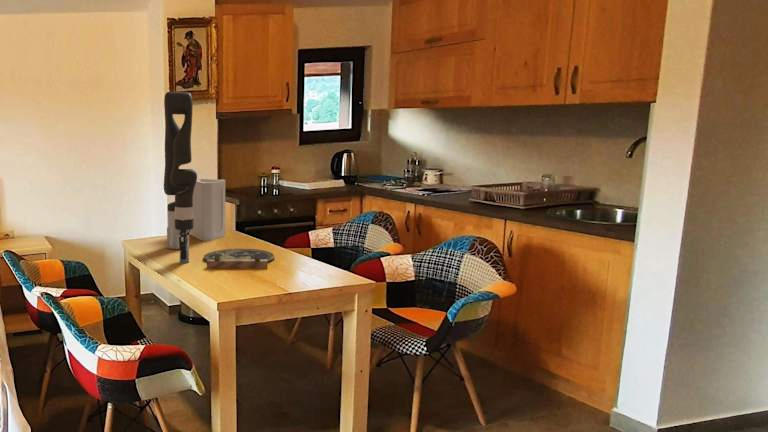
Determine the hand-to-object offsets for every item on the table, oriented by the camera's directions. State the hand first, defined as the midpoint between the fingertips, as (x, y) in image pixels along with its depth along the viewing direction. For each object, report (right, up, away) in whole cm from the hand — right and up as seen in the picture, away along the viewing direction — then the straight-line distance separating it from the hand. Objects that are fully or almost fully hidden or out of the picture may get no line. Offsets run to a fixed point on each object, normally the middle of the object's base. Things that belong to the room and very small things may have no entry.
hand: (184, 257), depth 284 cm
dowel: (0, -2, 0) cm, 2 cm away
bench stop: (+23, -4, -6) cm, 24 cm away
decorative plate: (+21, -2, +10) cm, 23 cm away
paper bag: (-4, +7, +58) cm, 58 cm away
